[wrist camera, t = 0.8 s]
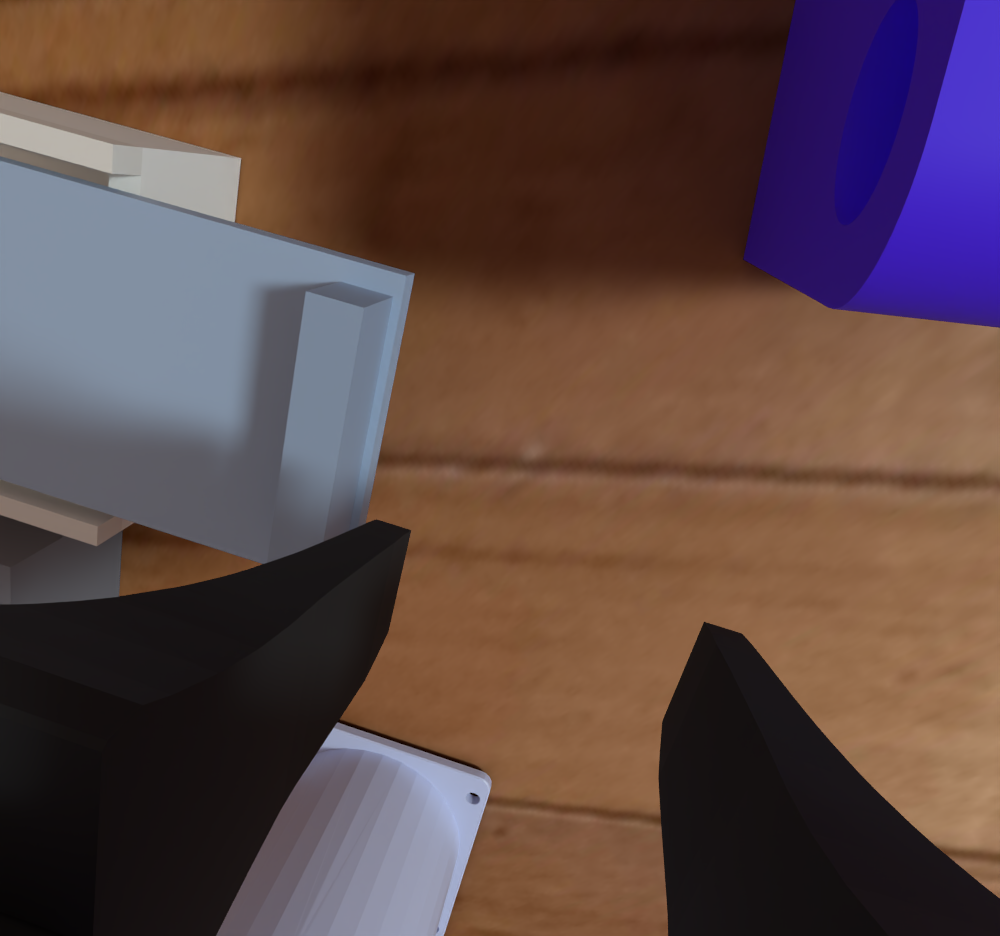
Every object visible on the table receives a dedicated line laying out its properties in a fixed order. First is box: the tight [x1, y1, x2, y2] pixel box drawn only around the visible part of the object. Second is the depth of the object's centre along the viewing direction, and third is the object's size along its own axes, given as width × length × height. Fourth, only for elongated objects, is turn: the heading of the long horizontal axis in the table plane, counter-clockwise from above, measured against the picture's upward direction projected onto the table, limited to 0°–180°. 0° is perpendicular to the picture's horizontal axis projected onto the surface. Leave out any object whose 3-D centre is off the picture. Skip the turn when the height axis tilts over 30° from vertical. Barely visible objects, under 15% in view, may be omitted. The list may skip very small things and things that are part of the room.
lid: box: [0, 156, 415, 564], centre depth 17 cm, size 8×12×2 cm
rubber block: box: [0, 515, 123, 604], centre depth 24 cm, size 4×4×5 cm
